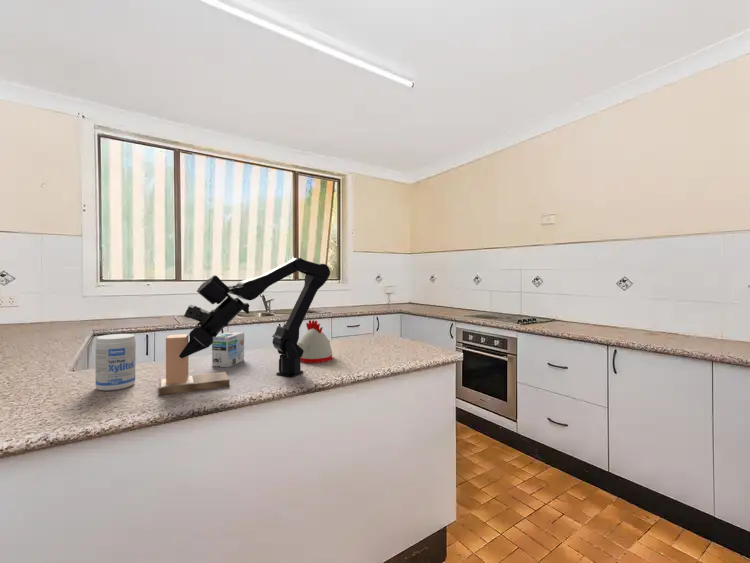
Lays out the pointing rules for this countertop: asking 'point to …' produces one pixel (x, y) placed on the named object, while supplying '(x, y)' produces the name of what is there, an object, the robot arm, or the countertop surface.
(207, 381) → the base board
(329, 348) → the kitchen timer
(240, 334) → the light bulb box
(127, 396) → the countertop surface
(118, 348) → the supplement tub
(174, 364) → the pillar
